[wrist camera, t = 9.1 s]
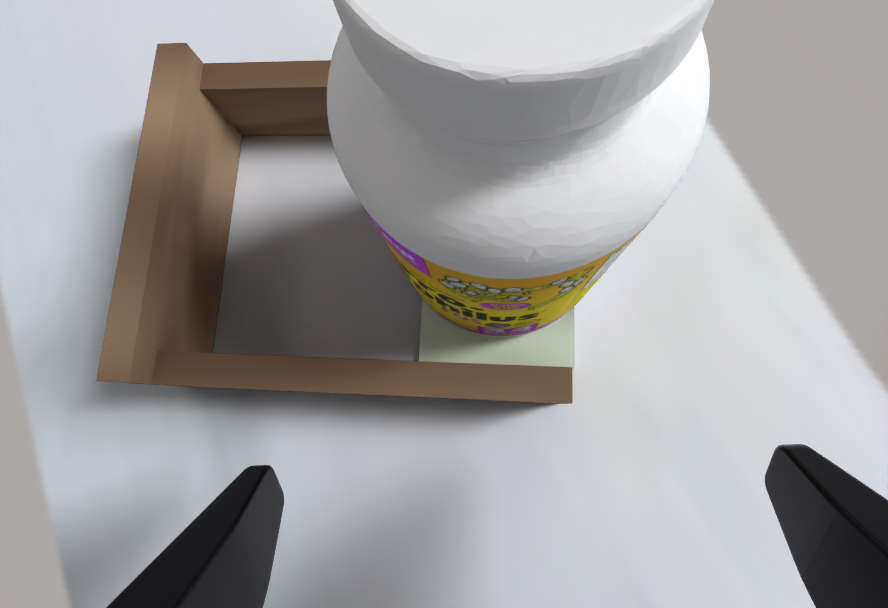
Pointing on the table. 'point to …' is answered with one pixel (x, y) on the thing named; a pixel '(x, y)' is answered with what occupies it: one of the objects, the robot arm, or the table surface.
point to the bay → (205, 243)
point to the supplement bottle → (515, 141)
